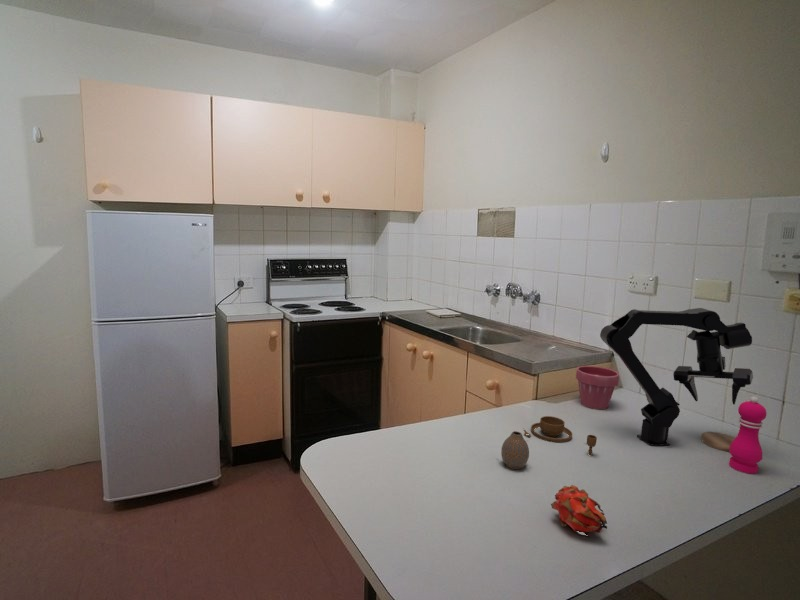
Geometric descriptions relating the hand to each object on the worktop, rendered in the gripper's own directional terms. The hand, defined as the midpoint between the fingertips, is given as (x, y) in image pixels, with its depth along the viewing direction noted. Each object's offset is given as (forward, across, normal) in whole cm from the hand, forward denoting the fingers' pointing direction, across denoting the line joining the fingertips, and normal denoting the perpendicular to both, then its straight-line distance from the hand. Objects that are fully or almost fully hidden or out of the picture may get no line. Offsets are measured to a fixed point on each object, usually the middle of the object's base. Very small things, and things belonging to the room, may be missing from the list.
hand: (715, 402), depth 138 cm
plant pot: (+8, +39, -6) cm, 40 cm away
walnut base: (+14, 0, -2) cm, 14 cm away
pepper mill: (+13, -7, +12) cm, 19 cm away
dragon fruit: (-1, +12, +71) cm, 72 cm away
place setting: (+2, +34, +34) cm, 48 cm away
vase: (-3, +34, +57) cm, 66 cm away
